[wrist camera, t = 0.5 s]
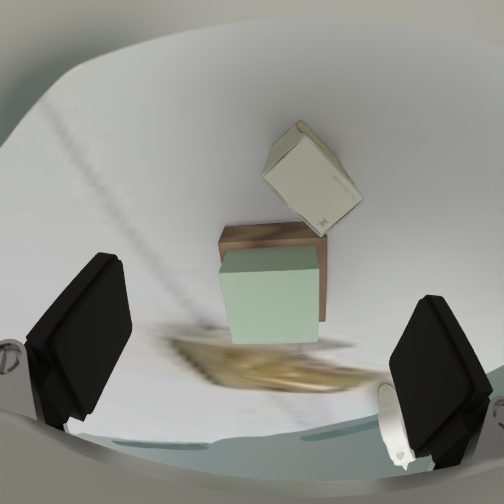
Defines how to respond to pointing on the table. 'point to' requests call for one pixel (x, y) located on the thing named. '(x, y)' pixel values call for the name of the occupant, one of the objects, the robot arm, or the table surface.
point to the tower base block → (279, 245)
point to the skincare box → (310, 179)
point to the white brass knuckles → (393, 427)
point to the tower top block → (271, 294)
